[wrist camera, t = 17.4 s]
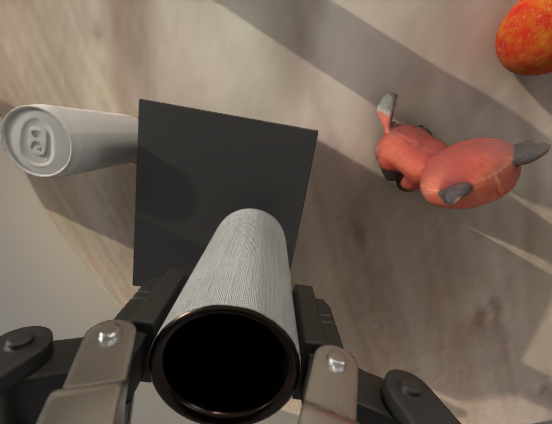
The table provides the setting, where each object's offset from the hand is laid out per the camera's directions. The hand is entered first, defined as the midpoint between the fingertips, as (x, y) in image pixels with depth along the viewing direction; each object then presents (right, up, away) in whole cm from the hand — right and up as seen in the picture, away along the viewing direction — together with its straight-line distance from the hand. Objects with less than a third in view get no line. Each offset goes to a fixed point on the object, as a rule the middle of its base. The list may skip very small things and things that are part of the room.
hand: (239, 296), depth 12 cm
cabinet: (-3, +6, +19) cm, 20 cm away
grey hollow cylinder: (0, +2, +6) cm, 7 cm away
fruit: (+25, +20, +16) cm, 36 cm away
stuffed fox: (+15, +11, +18) cm, 26 cm away
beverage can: (-14, +11, +18) cm, 25 cm away
